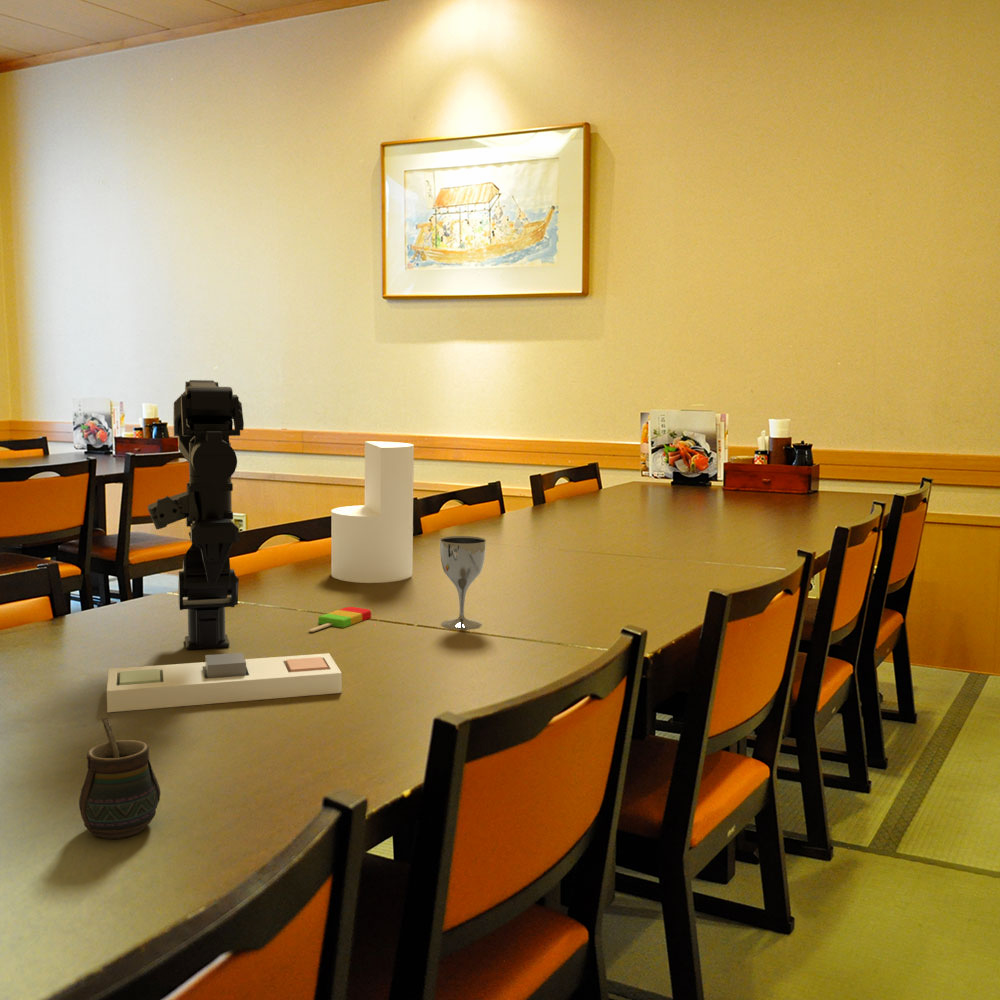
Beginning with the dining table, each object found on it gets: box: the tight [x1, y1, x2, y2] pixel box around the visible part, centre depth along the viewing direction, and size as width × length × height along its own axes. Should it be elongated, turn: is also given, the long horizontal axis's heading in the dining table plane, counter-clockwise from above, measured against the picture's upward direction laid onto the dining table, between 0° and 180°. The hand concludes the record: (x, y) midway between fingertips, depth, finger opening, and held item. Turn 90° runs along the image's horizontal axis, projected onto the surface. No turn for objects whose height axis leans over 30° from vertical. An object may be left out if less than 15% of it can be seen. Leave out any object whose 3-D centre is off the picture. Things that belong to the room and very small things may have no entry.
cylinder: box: [330, 440, 415, 584], centre depth 219 cm, size 17×17×28 cm
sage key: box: [120, 669, 160, 685], centre depth 136 cm, size 5×5×2 cm
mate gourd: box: [78, 717, 161, 840], centre depth 98 cm, size 7×8×10 cm
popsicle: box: [308, 606, 372, 633], centre depth 178 cm, size 6×15×2 cm, turn 153°
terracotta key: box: [286, 657, 328, 672], centre depth 144 cm, size 5×5×2 cm
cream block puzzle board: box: [106, 652, 343, 713], centre depth 140 cm, size 10×30×3 cm, turn 109°
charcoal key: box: [204, 652, 246, 679], centre depth 140 cm, size 5×5×2 cm
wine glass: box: [439, 535, 487, 630], centre depth 178 cm, size 8×8×15 cm
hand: (212, 583), depth 148 cm, fingers closed
